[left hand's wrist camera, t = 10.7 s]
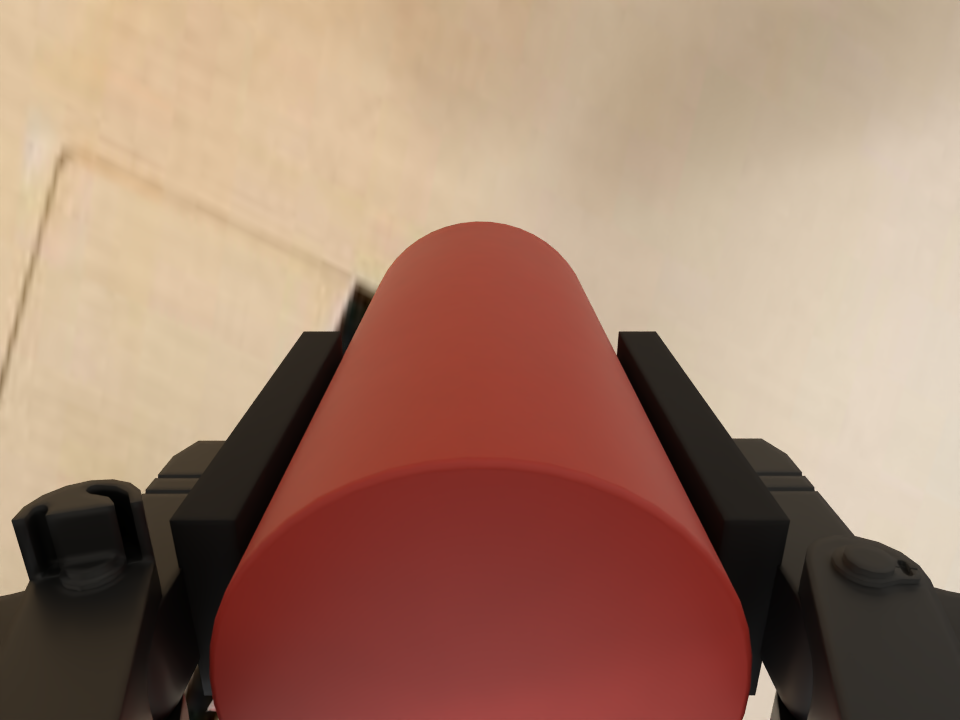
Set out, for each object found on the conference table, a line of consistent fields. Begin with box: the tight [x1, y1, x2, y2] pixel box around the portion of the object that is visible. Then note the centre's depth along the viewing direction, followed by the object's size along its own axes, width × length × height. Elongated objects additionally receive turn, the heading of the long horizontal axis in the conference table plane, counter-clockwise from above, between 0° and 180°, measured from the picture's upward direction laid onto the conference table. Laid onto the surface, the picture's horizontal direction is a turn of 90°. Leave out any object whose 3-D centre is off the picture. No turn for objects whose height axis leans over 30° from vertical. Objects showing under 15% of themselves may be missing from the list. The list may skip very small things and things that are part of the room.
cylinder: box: [209, 222, 752, 720], centre depth 13 cm, size 6×6×12 cm
